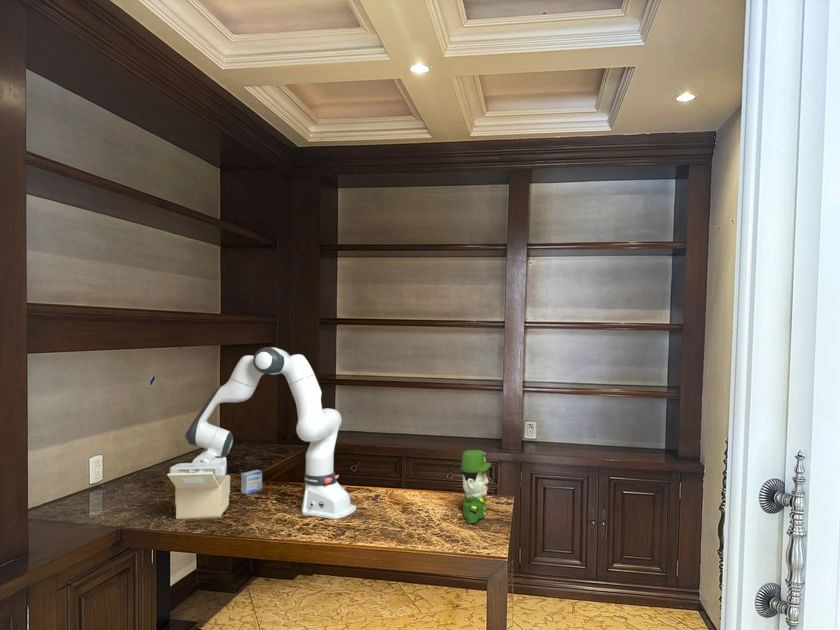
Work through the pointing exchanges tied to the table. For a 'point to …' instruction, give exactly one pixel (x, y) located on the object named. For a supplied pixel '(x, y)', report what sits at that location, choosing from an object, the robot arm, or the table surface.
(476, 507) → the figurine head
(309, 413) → the robot arm
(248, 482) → the medicine box
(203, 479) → the carton flap
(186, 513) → the carton
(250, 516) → the table surface
